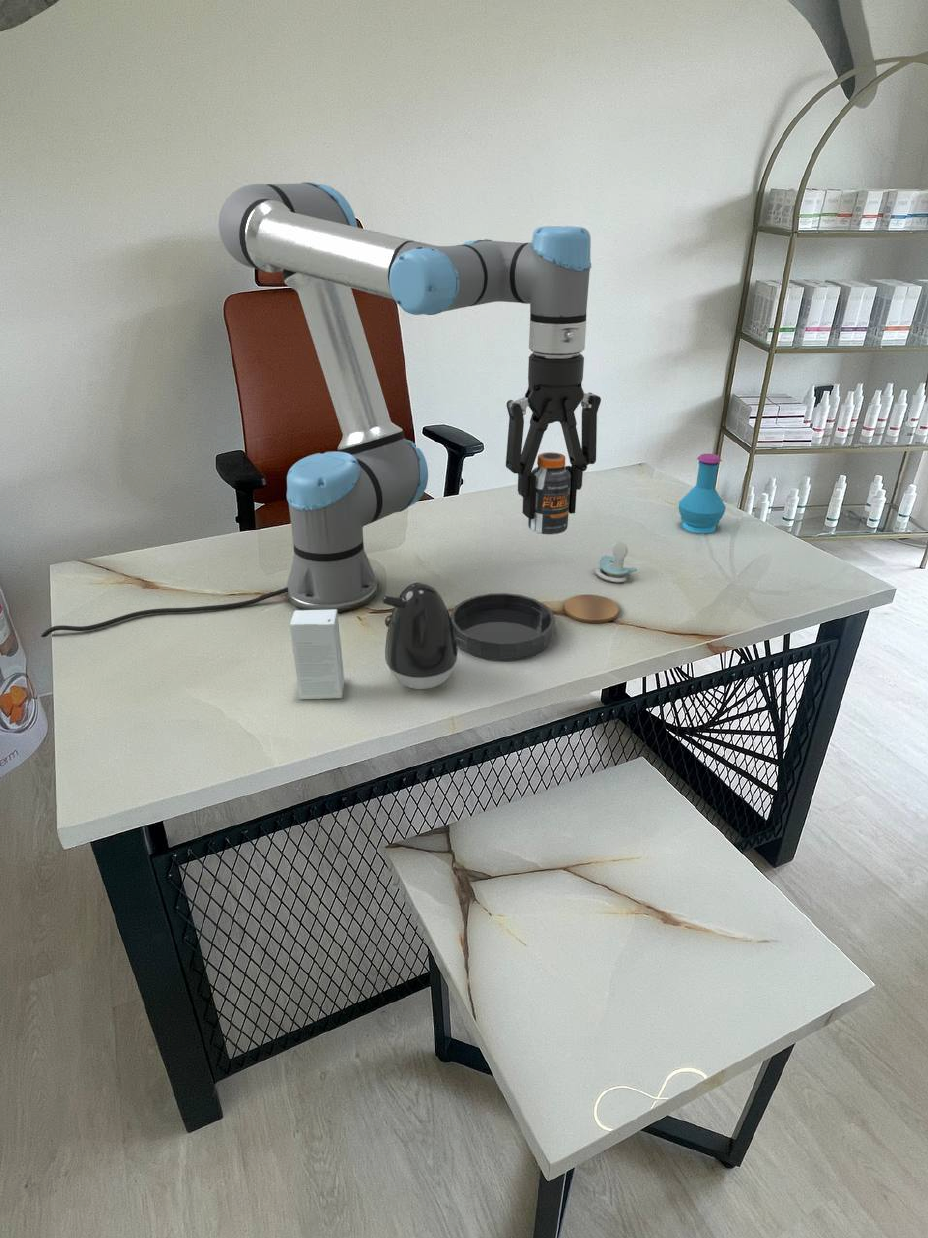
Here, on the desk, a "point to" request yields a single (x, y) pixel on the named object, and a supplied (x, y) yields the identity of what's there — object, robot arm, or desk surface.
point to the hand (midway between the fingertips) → (548, 512)
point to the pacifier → (615, 564)
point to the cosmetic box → (317, 653)
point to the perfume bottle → (703, 499)
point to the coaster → (591, 608)
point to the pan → (503, 626)
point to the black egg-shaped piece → (420, 638)
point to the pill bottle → (551, 495)
